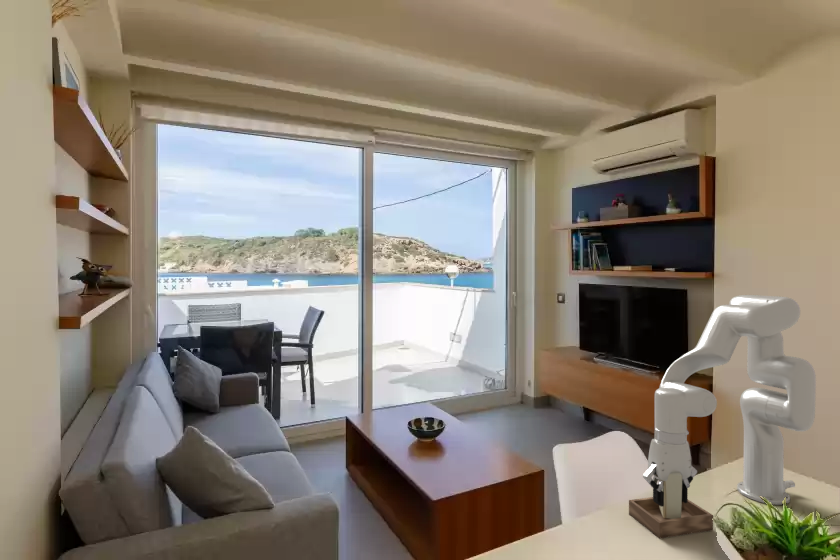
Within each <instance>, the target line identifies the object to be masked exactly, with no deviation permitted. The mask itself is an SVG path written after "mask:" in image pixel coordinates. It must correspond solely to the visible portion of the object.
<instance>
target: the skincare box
mask: <svg viewBox="0 0 840 560" xmlns="http://www.w3.org/2000/svg"><path fill="white" fill-rule="evenodd" d="M662 491H663V492H664V506H662V507H661V506H660V505H659V507H660V510H661V513H662V515H663V518H669V519H676V518H681V505H682V474H681V473H672V474H669V476H668V479H667V481H664V486H663V488H662Z"/></svg>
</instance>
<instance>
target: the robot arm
mask: <svg viewBox="0 0 840 560" xmlns="http://www.w3.org/2000/svg"><path fill="white" fill-rule="evenodd" d="M800 317H801V307H800V305H799V303H798V302H797V301H796V300H795V299H794V298H791V297H788V296H778V295H774V296H773V295H758V294H757V295H756V294H755V295H754V294H741V295H736V296H733V297H732V298H731V299H730V300H729V303H728V304H722V305H719V306H717V307H715V309H713V311H712V313H711V315H710V317H709V319H708V321H707V322H706V325H705V327H704V329H703V331H702V334H701V336H700V338H699V339H698V342H697V344H696V345H695V346H694V348H693V349H691V350H690V351H687V352H686V353H683V354H682V355H681V356H680V357H679V358H677V359H676V360H674V361H673V362H672V363H671V364H670V365H669V367H668V368H667V369H666V371H665V373H664V375H663V376H662V379H661V382H660V384H659V388H657V389H656V390H655V391H654V438H652V439H651V441H650V443H649V450H648V451H649V452H648V459H647V470H645V472H644V473H643V475H642V478H643V479H644V480H645V481H646V483H648V485H650V487H651V488H652V497H653V501H654V502H655V503H657V504H658V505H660V506H661V507H662V506H664V492H663V491H662V488H663V486H664V481H667V479H668V476H669V474H672V473H681V474H682V502H684V503H687V502H688V500H689V498H688V494H689V493H688V490H689V489H690V487H691V483H692V482H693V480H694V478H695V476H696V475H697V473H698V470H697V469H696V468H695V467H693V465H692V458H691V457H692V456H691V451H690V444H689V441H688V440H687V437H688V435H689V433H690V432H689V430H688V428H687V427H688V422H687V420H688V417H692V418H693V417H697V418H703V417H707V416H708V417H709V416H710V415H712V414H713V413H714V412H715V411H716V409H717V406H718V400H717V398H716V396H715V394H714V393H713V392H711V391H710V390H707V389H706V388H702V387H699V386H695V385H691V384H687V383H685V382H686V380H687V379H688V378H689V377H690V376H691V375H693V374H695V373H697V372H699V371H702V370H707V369H710V368H715V367H719V366H723V365H726V364H728V363H729V362H730V360H731V358H732V356H733V354H734V351H735V350H736V347H737V345H738V343H739V341H740V338H741V337H746V338H747V351H746V352H747V359H746V363H747V365H746V369H747V370H746V371H747V375H748V378H749V379H750V381H752V382H754V383H757V384H759V385H764V386H766V387H767V386H768V387H772V388H777V389H781V390H786V393H785V392H779V391H777V390H773V389H767V388H762V387H749V388H747V389H745V390H744V391H743V392H742V393H741V395H740V398H739V405H740V406H739V407H740V411H741V415H742V421H743V422H742V423H743V479H742V480H743V481H740V482H738V483H737V485H736V490H737V491H738V493H740V494H741V495H743V496H744V497H746V498H748V499H751V500H752V501H756V502H759V503H763V504H765V503H764V501H763V500H762V499H761V498H760V497H759V496H762V497H765V498H766V499H767V500H768V501H769V502H771V503H772V504H771V505H774V504H775V505H776V506H781V505H782V501H783V500H784V498H785V497H786V503H787V504H789V503H790V502H791V496H790V495H789V493H788V492H786V490H787V489H789V488H791V489H792V488H795V487H796V483H795V482H794V480H784V467H785V466H784V463H785V461H784V459H785V458H784V455H785V453H784V452H785V450H784V449H785V448H784V446H785V442H784V436H783V434H782V431H781V429H780V428H784V429H788V430H791V431H795V432H806V431H808V430H810V429H811V428H812V427H813V425H814V422H815V416H816V398H817V397H816V395H817V393H816V391H817V389H816V388H817V377H816V376H817V375H816V371H815V368H814V367H813V365H812V363H810V362H809V361H808V360H806V359H804V358H801V357H796V356H790V355H785V351H784V337H783V334H782V332H784V331H785V330H788V329H790V328H792V327H793V326H794V325H796V324H797V322H798V320H800Z"/></svg>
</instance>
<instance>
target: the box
mask: <svg viewBox="0 0 840 560" xmlns="http://www.w3.org/2000/svg"><path fill="white" fill-rule="evenodd" d="M628 515H629V516H630V517H631V518H633V520H635V521H636V522H638V523H639V524H640V525H641V526H643V527H644V528H645V529H646V530H648V531H649V532H651V533H652V535H654V536H655V537H656V538H658V539H666V538H675V537H679V536H685V535H687V536H688V535H693V534H698V533H706V532H712V531H714V515H713V514H712V513H711V512H708V511H707V510H705V509H704V508H702V507H701V506H700V505H698V504H696V503H695V502H693V501H692V500H689V499H688V502H687V503H684V502H682V505H681V518H676V519H669V518H663V515H662V513H661V510H660V507H659V505H658V504H657V503H655V502H654V501H653V496H651V497H644V498H643V497H642V498H636V499H635V498H634V499H629V500H628ZM712 518H713V520H712Z"/></svg>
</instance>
